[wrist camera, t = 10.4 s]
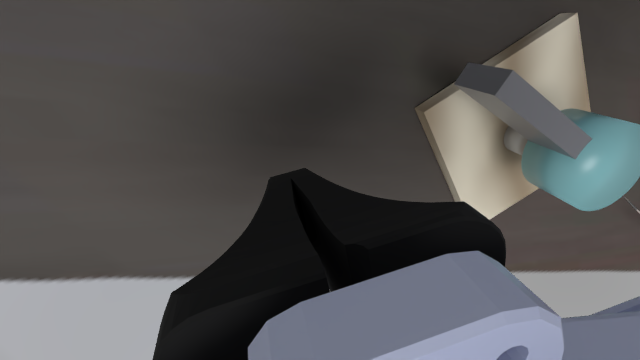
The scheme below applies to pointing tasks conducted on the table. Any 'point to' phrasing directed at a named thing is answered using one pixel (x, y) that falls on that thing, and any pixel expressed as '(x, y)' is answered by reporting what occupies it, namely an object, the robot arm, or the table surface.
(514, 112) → the teal grey handled piece
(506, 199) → the post block
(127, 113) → the table surface
